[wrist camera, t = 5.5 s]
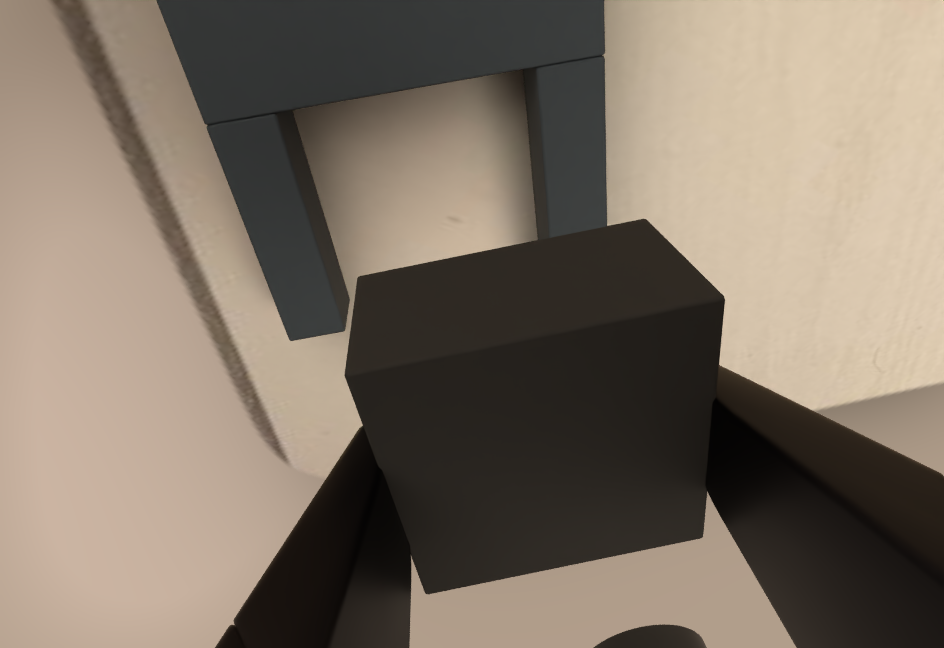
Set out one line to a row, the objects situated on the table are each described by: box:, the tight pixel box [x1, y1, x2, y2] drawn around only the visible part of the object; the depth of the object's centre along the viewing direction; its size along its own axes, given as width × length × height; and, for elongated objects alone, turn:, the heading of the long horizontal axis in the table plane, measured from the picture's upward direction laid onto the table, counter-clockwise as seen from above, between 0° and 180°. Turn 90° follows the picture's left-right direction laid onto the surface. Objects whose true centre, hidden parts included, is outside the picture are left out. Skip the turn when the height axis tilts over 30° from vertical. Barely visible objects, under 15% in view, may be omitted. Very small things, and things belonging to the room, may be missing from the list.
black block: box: [345, 219, 725, 594], centre depth 9 cm, size 4×4×2 cm
